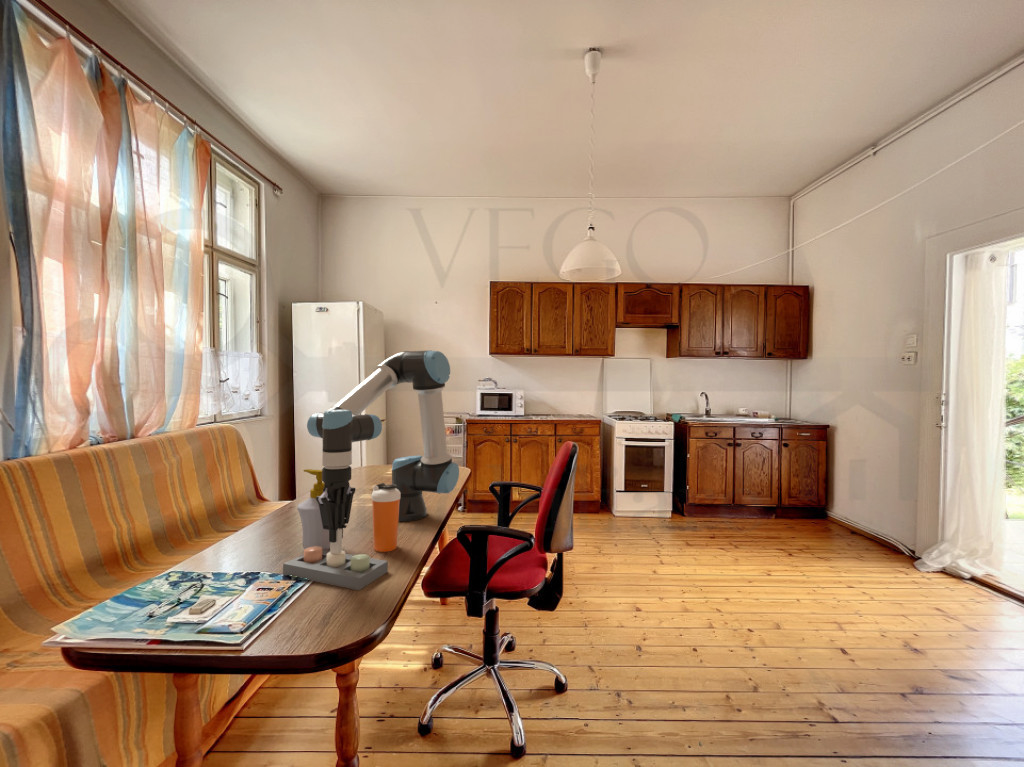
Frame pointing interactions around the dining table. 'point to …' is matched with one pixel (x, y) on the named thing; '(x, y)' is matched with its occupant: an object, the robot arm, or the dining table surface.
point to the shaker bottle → (385, 516)
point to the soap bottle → (313, 516)
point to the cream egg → (335, 559)
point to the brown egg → (313, 554)
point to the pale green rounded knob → (360, 563)
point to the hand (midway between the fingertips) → (335, 552)
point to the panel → (335, 571)
